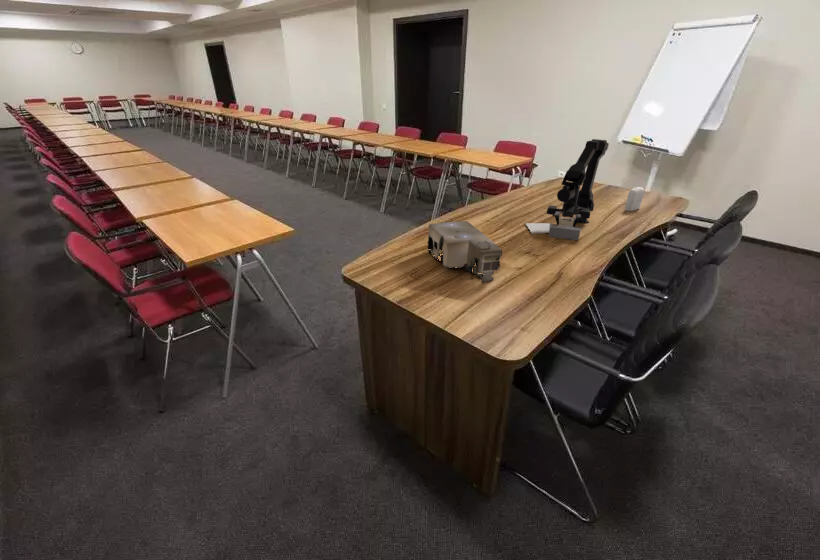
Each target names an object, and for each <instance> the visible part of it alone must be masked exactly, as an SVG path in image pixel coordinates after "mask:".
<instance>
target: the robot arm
mask: <svg viewBox="0 0 820 560" xmlns="http://www.w3.org/2000/svg"><path fill="white" fill-rule="evenodd" d="M607 141H608V140H606V139H597V138H592V139H591V140H587V141H586V143H585V146H584V149H583V151H582V152H581V154H580V156H579V157H578V159H577V160H576V162H575V163H574V164H572V165H570V166H569V168H568V170H566V172H565V175H564V177H563V179H562V182H561V186H562V188H561V189H560V190H558V191H557V193H556V198H557V200H558V201H559V202H562V207H561V208H558V206H556V205H548V206H547V208H546V209H547V210H546V215H552V216H551V217H554V219H555V221H556V225H559V222H560V217H561V216H562V217H563V218H572V219H574V222H573V226H574V227H576V225H577V224H578V223H580V224H581V223H582V224H583V223H585V224H589V223H590V221H589V219H590V218H591V212H593V211H594V208H595V203H594V202H595V201H594V193H593V187H594V182H595V179H596V178H595V177H596V175H597V171H598V167H599V163H600V161H601V159H602V158H603V157H604V156H605V154H606V152H607V151H608V149H609V146H610V145H609V142H607ZM560 214H561V215H560ZM574 215H575V217H574Z"/></svg>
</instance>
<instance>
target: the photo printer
mask: <svg viewBox="0 0 820 560" xmlns="http://www.w3.org/2000/svg"><path fill="white" fill-rule="evenodd" d="M644 194H645V188H644V187H642V186H635V187H633V188H631V189H630V191H629V192H628V194H627V199H626V202H625V206H624V210H625V211H627V212H633V211H636V210H639V209H640V208H641V205H642V201H643V198H644Z"/></svg>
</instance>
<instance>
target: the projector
mask: <svg viewBox="0 0 820 560" xmlns="http://www.w3.org/2000/svg"><path fill="white" fill-rule="evenodd" d="M427 236H428V241H427V252H428V251H430V252H431V253H430V254H432V255H431V256H433V255H435V256H434V257H433V259H435V260H436V259H438V256H440V254H439V252H442V253H443V255H441V256H440V257H441V261H443V262H442V266H443V267H444V268H446V269H455V267H457V268H459V269H464V271H467V272H470V273H472V268H473V274H472V275H476V276H478V278H479V279H482V280H481V282H482V283H486V282H490V281H495V278H494V276H493V275H494V273H495V272H497V271H498V270H500V268H501V262H500V259H501V257H503V250H502V248H501V247H500V246H498V244H496V243H495V242H494V241H493V240H492V239H490V238H489V237H488V236H486V234H484V233H483V232H482V231H481V230H479V229H478V228H477V227H475V226H474V225H473V224H472V223H470V222H469V221H468V220H460V221H449V222H447V221H446V222H439V223H429V224H428V235H427ZM428 249H431V250H428ZM438 260H439V259H438ZM438 260H437V261H438ZM475 263H476V266H474V265H475ZM461 267H463V268H461ZM468 270H469V271H468ZM478 273H483V274H484V275H483V274H478Z"/></svg>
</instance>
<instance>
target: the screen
mask: <svg viewBox="0 0 820 560" xmlns="http://www.w3.org/2000/svg"><path fill="white" fill-rule="evenodd" d="M549 227H550V230H549V234H548V238H555V237H556V238H555V239H562V238H563V239H564V240H565V239H566V240H571V241H579V239H580V234H581V231H582V226H581V227H580V226H575V227H574V226H565V225H557V223H556V224H555V223H550V225H549ZM563 239H562V240H563Z"/></svg>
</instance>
